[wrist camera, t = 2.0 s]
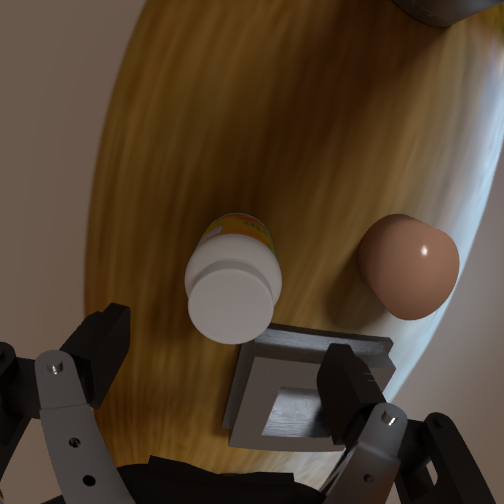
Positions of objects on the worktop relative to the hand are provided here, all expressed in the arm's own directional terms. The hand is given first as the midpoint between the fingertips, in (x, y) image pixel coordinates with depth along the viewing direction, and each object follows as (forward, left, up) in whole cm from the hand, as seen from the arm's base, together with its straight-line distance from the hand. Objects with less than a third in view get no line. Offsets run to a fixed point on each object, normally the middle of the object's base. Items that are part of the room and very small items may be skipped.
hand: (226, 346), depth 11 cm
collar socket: (+13, +9, -12) cm, 20 cm away
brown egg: (-2, +13, -12) cm, 18 cm away
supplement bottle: (0, 0, -12) cm, 12 cm away
